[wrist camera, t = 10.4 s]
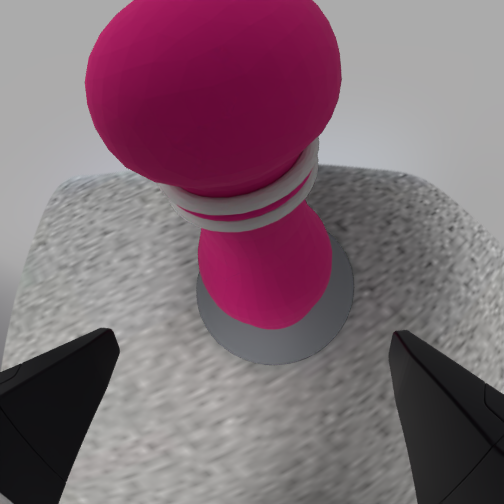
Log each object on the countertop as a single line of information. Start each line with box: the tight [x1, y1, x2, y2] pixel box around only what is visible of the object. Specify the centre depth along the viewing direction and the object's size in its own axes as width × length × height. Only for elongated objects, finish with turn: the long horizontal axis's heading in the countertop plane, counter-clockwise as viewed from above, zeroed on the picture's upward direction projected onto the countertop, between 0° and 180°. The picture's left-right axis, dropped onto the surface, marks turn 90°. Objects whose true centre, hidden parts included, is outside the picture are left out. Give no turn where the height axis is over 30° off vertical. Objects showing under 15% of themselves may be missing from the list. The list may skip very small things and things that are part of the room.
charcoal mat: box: [197, 232, 354, 365], centre depth 21 cm, size 11×11×1 cm
